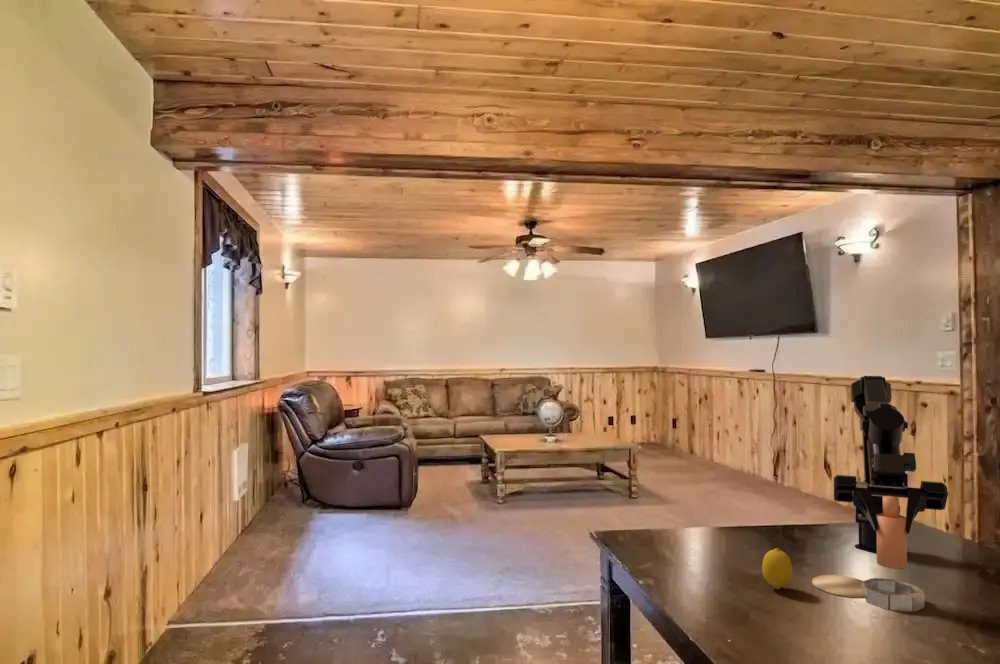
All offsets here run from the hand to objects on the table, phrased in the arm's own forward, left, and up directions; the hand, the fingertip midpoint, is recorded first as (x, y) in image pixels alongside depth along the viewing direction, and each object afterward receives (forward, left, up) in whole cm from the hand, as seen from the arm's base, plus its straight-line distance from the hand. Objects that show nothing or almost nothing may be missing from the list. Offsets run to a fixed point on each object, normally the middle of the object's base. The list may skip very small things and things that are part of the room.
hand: (891, 531), depth 121 cm
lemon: (-16, -12, -14) cm, 24 cm away
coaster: (-10, 0, -13) cm, 17 cm away
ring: (-1, +1, -13) cm, 13 cm away
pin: (-1, +1, -7) cm, 7 cm away
